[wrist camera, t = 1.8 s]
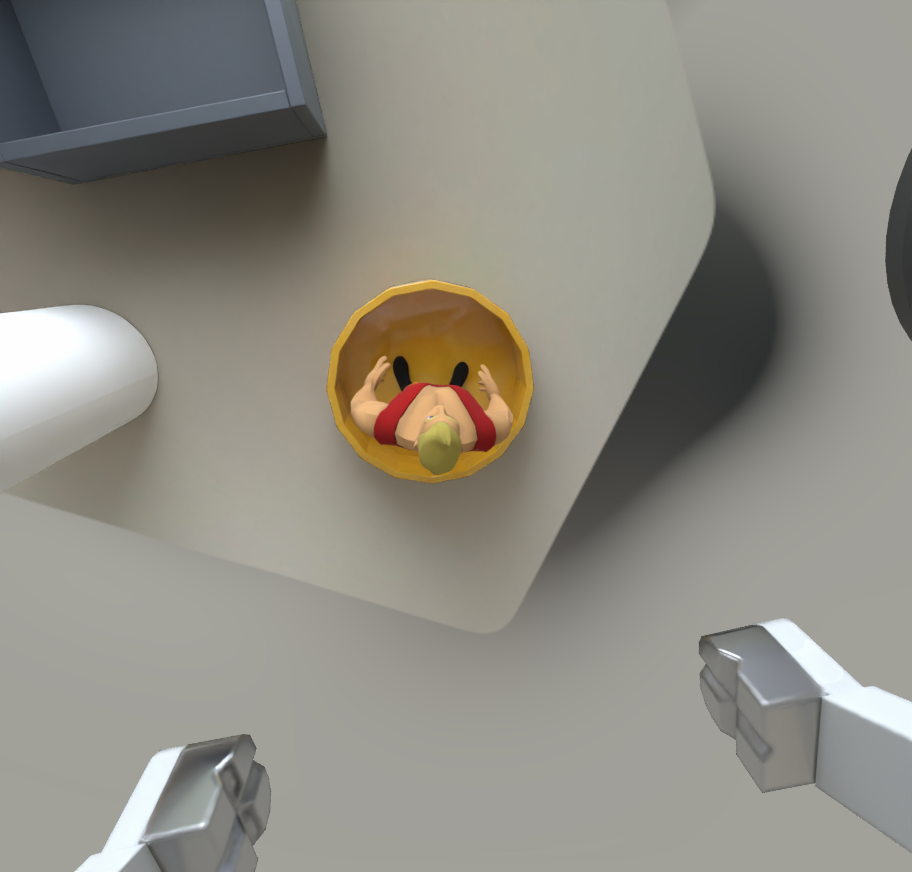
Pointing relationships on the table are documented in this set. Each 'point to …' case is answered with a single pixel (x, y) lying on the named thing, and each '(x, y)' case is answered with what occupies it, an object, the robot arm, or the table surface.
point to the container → (149, 84)
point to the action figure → (432, 415)
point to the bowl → (428, 364)
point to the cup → (66, 384)
